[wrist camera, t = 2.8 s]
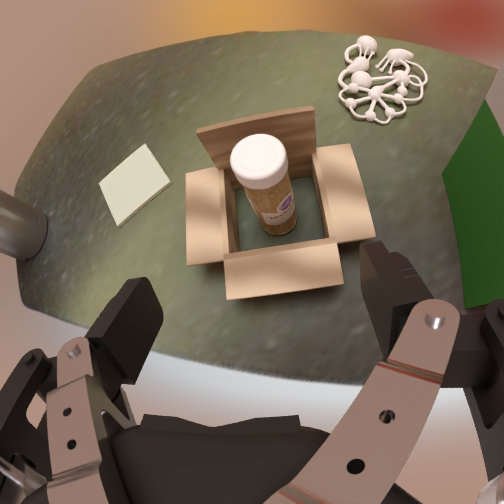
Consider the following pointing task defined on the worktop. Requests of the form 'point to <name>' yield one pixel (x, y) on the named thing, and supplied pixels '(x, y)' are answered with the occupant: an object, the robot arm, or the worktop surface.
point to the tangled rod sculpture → (364, 80)
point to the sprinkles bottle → (266, 181)
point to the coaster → (133, 184)
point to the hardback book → (480, 199)
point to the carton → (299, 165)
